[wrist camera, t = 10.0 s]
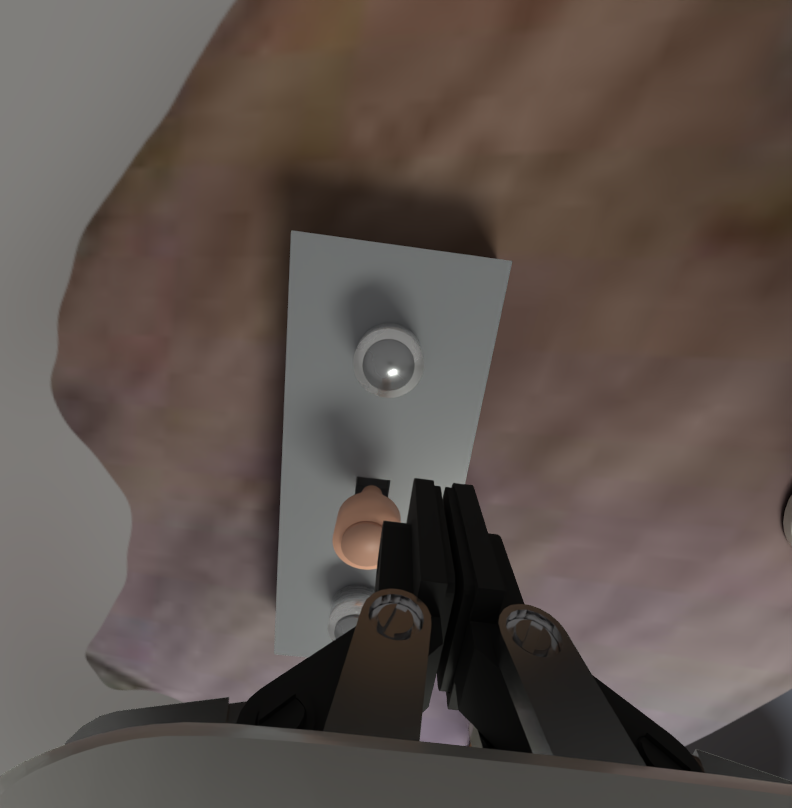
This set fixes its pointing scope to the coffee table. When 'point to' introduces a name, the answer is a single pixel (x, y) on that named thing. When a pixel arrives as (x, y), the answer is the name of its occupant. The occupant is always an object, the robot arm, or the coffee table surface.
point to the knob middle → (363, 527)
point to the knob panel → (371, 402)
